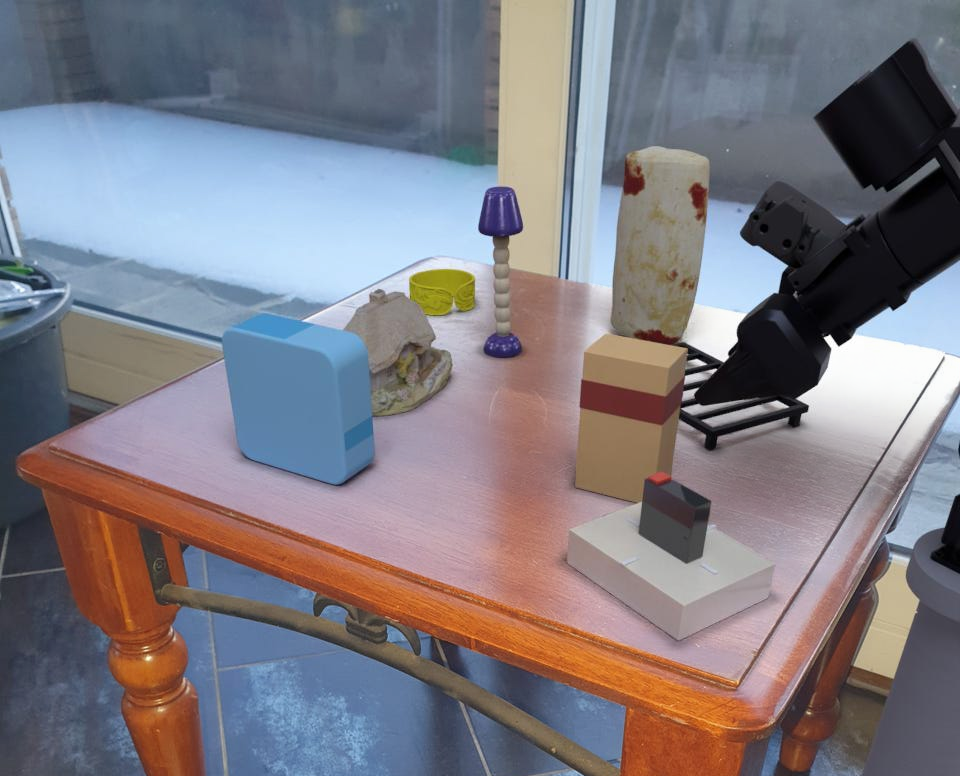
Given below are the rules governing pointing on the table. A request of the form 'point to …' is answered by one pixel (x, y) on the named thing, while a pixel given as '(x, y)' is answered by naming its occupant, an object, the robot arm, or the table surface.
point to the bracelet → (442, 290)
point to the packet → (628, 414)
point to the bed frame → (713, 433)
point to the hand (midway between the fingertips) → (715, 378)
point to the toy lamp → (501, 263)
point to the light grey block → (669, 573)
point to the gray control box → (674, 517)
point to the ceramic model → (399, 352)
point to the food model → (659, 243)
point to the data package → (300, 396)
